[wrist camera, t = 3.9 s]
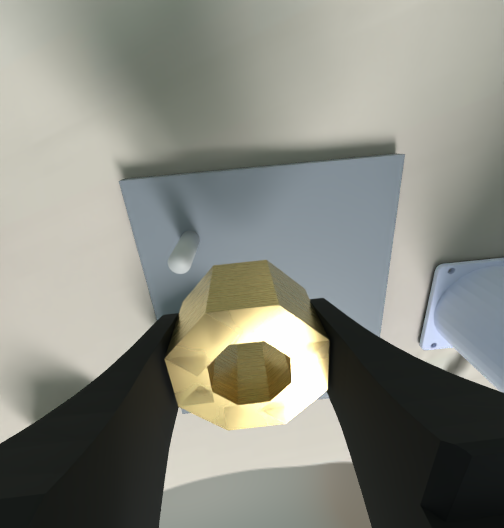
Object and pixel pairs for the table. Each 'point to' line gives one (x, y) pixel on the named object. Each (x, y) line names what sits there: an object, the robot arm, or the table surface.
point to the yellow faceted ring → (247, 348)
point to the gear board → (272, 229)
